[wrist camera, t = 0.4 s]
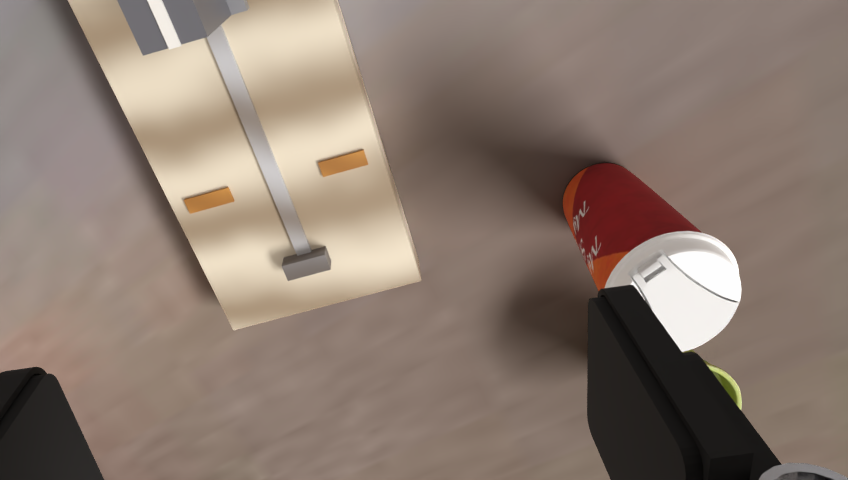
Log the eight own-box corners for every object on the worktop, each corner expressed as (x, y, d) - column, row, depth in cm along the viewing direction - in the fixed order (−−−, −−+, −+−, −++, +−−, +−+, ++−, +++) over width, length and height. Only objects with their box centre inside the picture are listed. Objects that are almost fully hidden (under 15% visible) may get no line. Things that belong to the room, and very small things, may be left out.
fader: (137, -28, 35) (89, -10, 29) (226, -54, 35) (196, -42, 29) (165, 33, 37) (124, 62, 31) (249, 9, 36) (226, 32, 30)
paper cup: (526, 195, 47) (582, 303, 35) (615, 126, 45) (708, 215, 33) (586, 264, 50) (657, 385, 38) (672, 202, 48) (776, 309, 36)
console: (27, -133, 36) (-13, -136, 32) (272, -210, 35) (261, -222, 31) (240, 306, 50) (230, 340, 46) (418, 259, 49) (422, 289, 45)
